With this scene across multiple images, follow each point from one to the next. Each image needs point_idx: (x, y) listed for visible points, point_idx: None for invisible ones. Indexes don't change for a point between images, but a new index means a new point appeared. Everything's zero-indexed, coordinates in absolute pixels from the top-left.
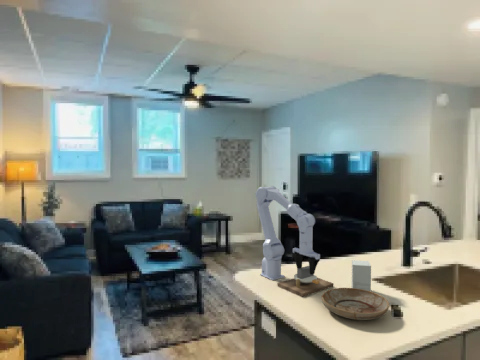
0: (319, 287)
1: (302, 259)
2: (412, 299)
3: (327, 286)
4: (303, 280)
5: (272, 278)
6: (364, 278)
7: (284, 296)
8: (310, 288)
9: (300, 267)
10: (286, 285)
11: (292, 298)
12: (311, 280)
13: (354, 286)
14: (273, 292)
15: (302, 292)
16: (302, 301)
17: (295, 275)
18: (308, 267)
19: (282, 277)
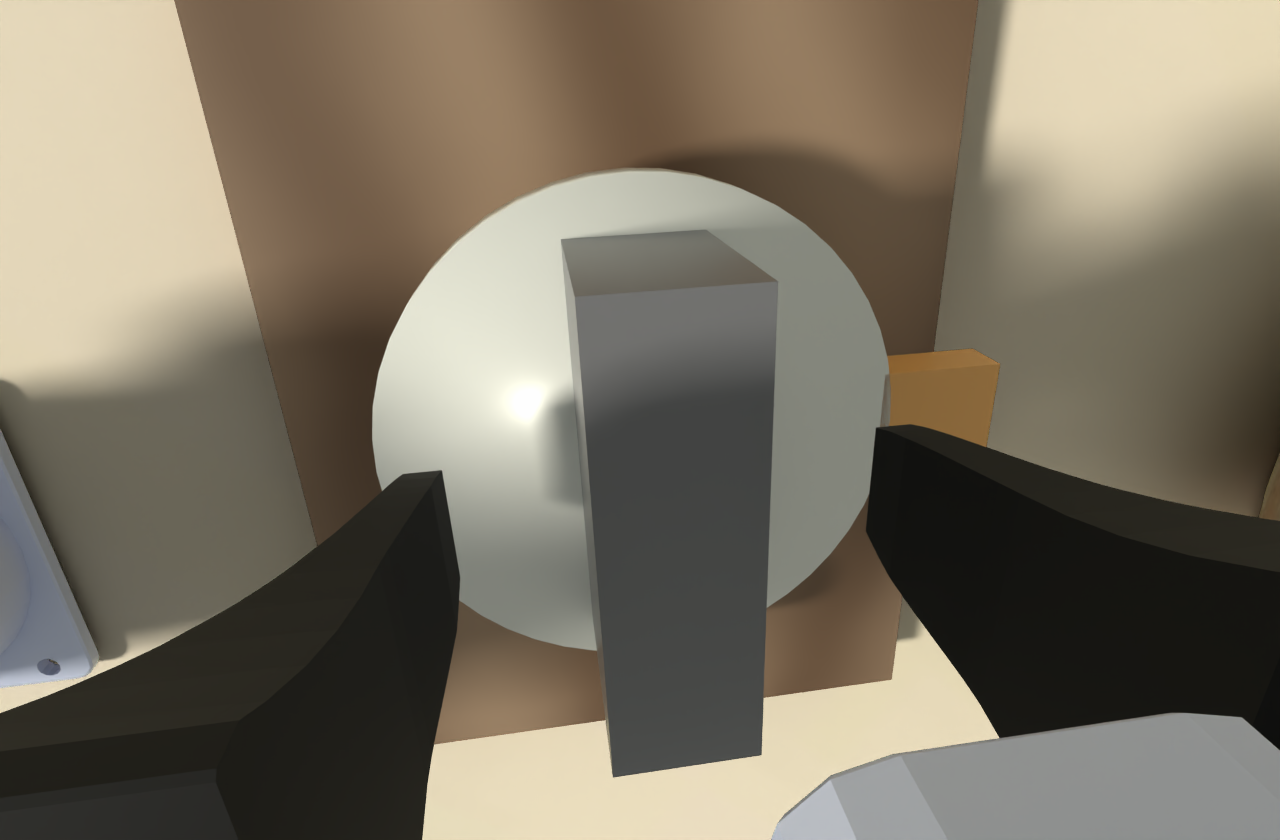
0: (923, 320)
1: (353, 600)
2: None
3: (953, 93)
4: (770, 600)
5: (42, 660)
6: None
7: (719, 788)
8: None
9: (439, 537)
10: (538, 701)
11: (817, 747)
12: None
13: None
14: (548, 832)
15: (869, 658)
16: (945, 703)
17: (471, 580)
18: (719, 480)
19: (11, 456)
